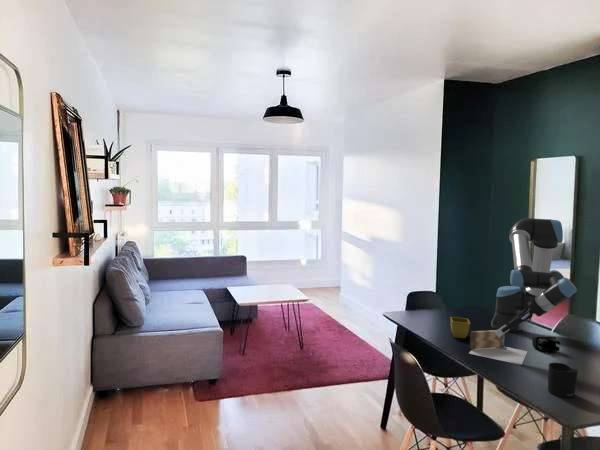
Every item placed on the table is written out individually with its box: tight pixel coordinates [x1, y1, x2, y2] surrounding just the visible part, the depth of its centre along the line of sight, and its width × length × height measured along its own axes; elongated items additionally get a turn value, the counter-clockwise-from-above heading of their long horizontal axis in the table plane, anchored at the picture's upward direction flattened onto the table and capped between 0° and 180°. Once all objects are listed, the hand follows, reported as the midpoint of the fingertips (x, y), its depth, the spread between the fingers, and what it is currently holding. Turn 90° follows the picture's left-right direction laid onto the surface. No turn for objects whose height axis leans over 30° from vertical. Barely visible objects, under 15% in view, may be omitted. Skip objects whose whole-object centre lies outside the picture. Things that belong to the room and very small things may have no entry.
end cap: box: [531, 336, 561, 355], centre depth 224 cm, size 10×7×7 cm
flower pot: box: [449, 316, 471, 339], centre depth 239 cm, size 9×9×9 cm
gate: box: [469, 329, 506, 350], centre depth 221 cm, size 19×2×9 cm, turn 108°
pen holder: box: [547, 362, 579, 399], centre depth 175 cm, size 9×9×10 cm
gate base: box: [468, 345, 528, 365], centre depth 217 cm, size 22×22×1 cm
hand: (496, 334), depth 213 cm, fingers closed
